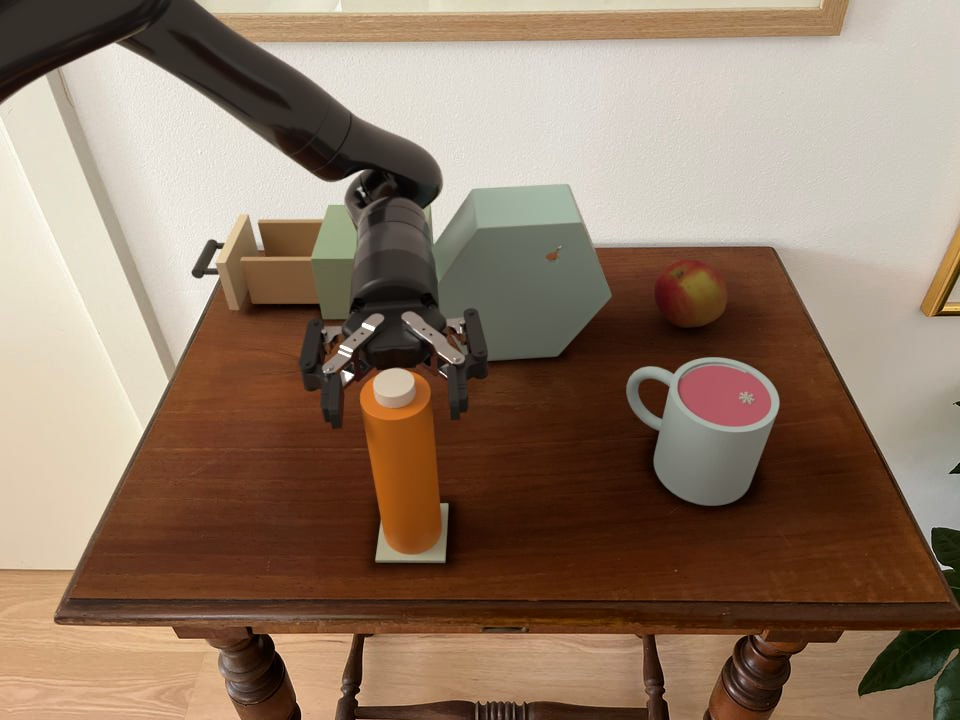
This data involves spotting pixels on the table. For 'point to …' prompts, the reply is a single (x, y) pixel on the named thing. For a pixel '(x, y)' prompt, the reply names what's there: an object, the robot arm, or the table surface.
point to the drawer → (265, 262)
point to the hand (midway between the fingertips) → (395, 416)
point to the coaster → (430, 556)
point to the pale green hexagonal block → (520, 269)
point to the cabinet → (338, 261)
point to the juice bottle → (403, 458)
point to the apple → (690, 293)
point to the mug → (709, 427)
